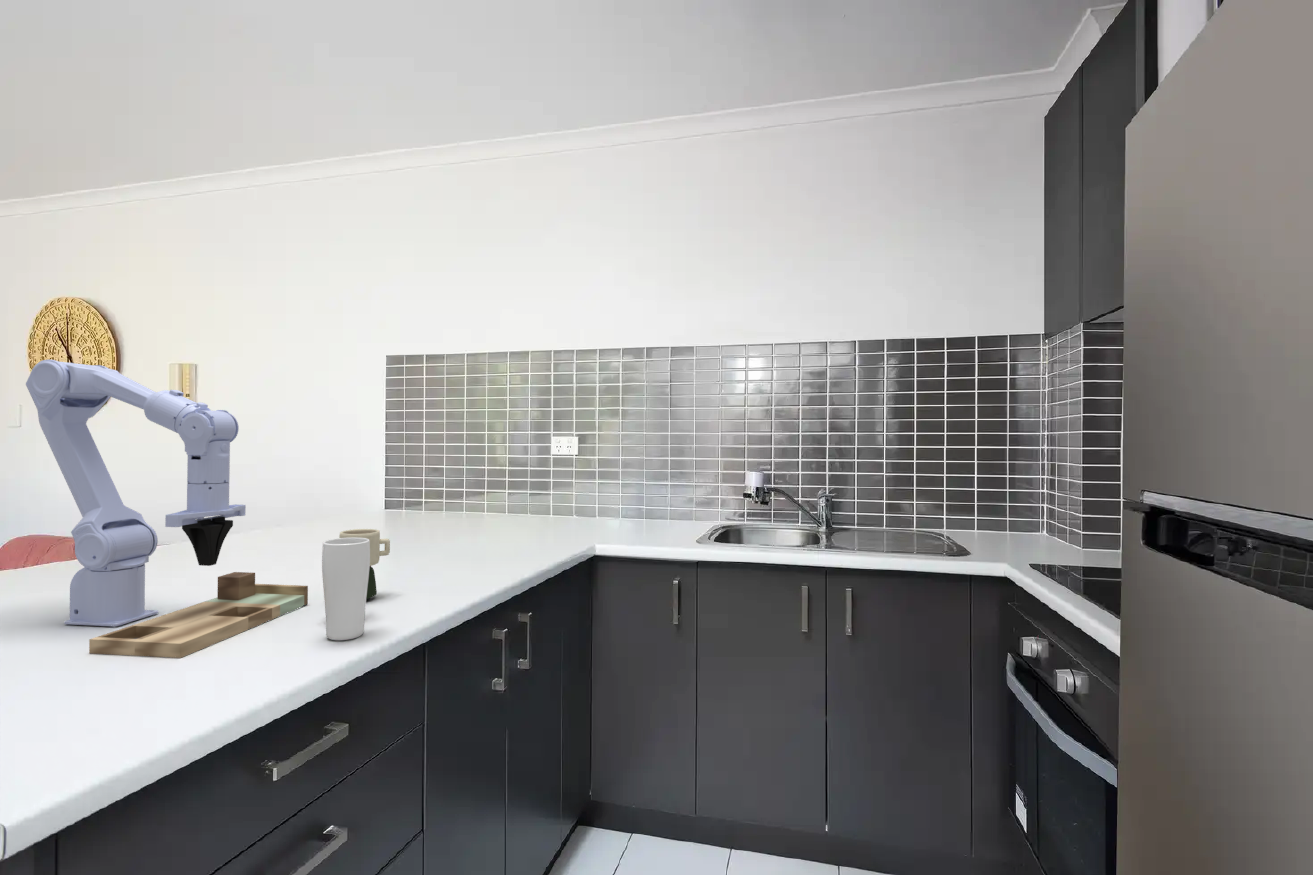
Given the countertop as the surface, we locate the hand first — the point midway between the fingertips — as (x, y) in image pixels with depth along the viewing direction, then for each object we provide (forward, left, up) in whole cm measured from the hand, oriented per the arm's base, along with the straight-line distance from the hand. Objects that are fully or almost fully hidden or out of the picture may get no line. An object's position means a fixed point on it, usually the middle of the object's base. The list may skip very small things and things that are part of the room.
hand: (207, 564), depth 105 cm
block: (-2, +9, -8) cm, 12 cm away
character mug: (+16, +18, -10) cm, 26 cm away
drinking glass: (+26, -3, -10) cm, 28 cm away
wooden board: (+2, -1, -10) cm, 10 cm away
